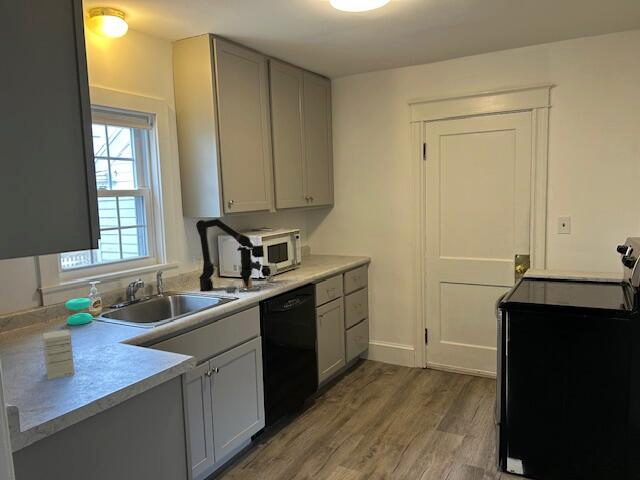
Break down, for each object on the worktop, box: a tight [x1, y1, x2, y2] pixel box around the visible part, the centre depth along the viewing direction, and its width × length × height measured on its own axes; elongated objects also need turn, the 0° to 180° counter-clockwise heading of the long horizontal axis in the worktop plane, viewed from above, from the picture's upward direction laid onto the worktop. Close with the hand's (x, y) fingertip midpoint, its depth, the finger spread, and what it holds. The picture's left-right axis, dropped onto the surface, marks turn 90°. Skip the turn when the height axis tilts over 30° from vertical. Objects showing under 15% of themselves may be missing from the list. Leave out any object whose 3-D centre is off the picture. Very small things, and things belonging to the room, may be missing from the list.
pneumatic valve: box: [260, 262, 278, 284], centre depth 284 cm, size 6×12×12 cm, turn 157°
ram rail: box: [225, 285, 236, 294], centre depth 265 cm, size 3×14×3 cm, turn 5°
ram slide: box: [227, 279, 235, 287], centre depth 269 cm, size 3×3×4 cm
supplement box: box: [42, 329, 75, 381], centre depth 144 cm, size 7×7×13 cm
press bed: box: [238, 286, 259, 293], centre depth 263 cm, size 10×8×1 cm
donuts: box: [65, 297, 94, 326], centre depth 206 cm, size 10×10×10 cm
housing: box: [242, 277, 253, 287], centre depth 270 cm, size 5×5×6 cm
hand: (247, 285), depth 270 cm, fingers closed on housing, 5 cm apart
